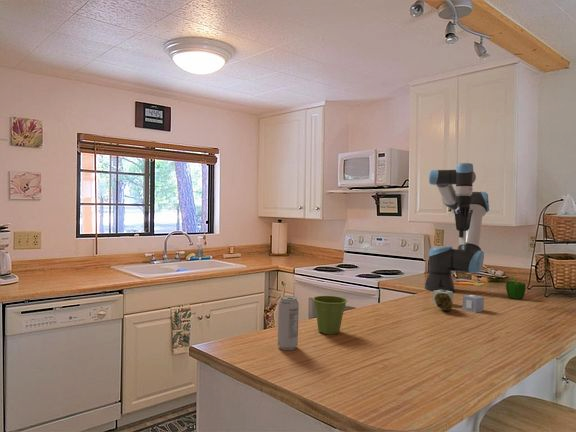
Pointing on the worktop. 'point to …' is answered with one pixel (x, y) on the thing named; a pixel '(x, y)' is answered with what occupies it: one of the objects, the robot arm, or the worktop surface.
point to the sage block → (443, 292)
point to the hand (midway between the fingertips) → (462, 244)
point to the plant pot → (329, 313)
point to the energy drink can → (288, 323)
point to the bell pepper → (515, 289)
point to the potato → (443, 301)
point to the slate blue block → (473, 303)
